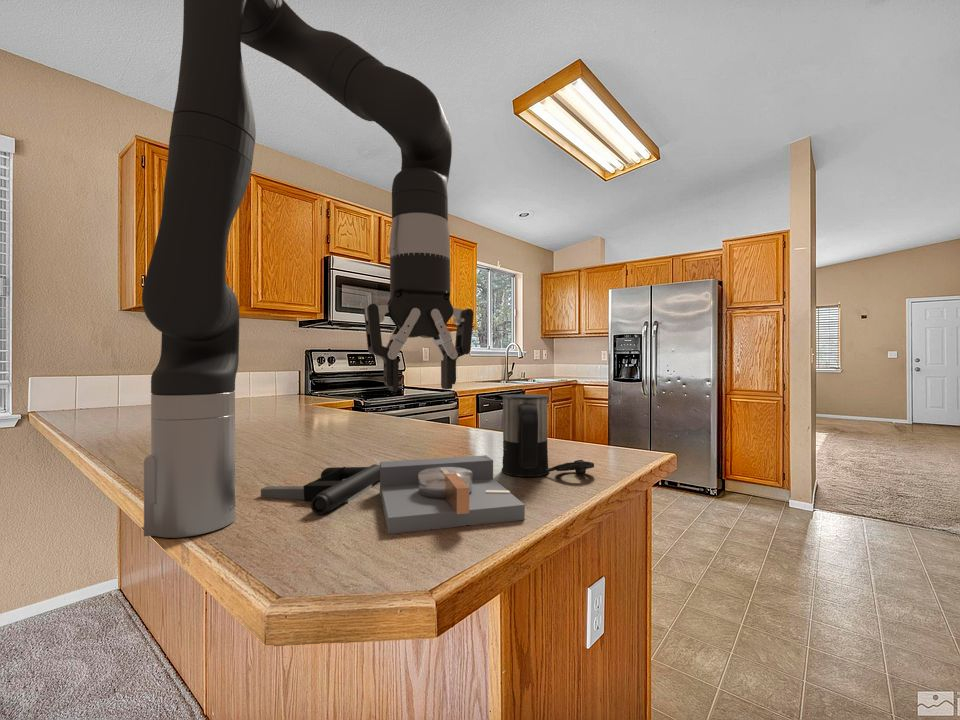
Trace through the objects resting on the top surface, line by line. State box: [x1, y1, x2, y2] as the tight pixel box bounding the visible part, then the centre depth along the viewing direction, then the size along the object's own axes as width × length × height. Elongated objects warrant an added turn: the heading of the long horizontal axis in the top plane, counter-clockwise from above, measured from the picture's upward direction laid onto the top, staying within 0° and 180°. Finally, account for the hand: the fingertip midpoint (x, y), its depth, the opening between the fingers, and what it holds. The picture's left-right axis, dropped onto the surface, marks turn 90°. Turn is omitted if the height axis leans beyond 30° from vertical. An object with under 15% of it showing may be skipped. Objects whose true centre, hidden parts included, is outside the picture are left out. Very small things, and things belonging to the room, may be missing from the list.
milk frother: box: [501, 393, 595, 478], centre depth 85 cm, size 14×16×15 cm
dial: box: [418, 467, 472, 514], centre depth 63 cm, size 15×8×3 cm, turn 16°
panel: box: [379, 454, 526, 535], centre depth 66 cm, size 18×18×5 cm
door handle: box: [260, 463, 380, 515], centre depth 73 cm, size 3×20×16 cm
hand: (421, 389), depth 57 cm, fingers open, 6 cm apart
